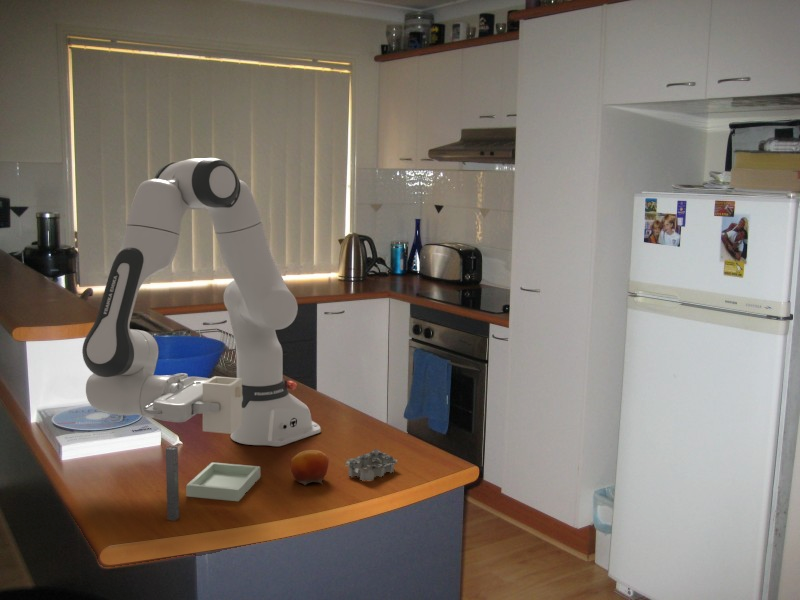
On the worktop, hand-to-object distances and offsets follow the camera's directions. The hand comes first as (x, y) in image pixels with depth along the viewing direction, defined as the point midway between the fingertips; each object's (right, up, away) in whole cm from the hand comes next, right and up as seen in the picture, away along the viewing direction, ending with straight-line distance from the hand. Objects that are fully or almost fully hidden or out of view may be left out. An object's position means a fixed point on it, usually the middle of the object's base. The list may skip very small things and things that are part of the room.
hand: (226, 402), depth 163 cm
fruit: (+16, -18, +8) cm, 25 cm away
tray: (-1, -18, +3) cm, 18 cm away
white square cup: (-1, -5, +1) cm, 6 cm away
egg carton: (+29, -18, +13) cm, 36 cm away
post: (-7, -20, -12) cm, 25 cm away
